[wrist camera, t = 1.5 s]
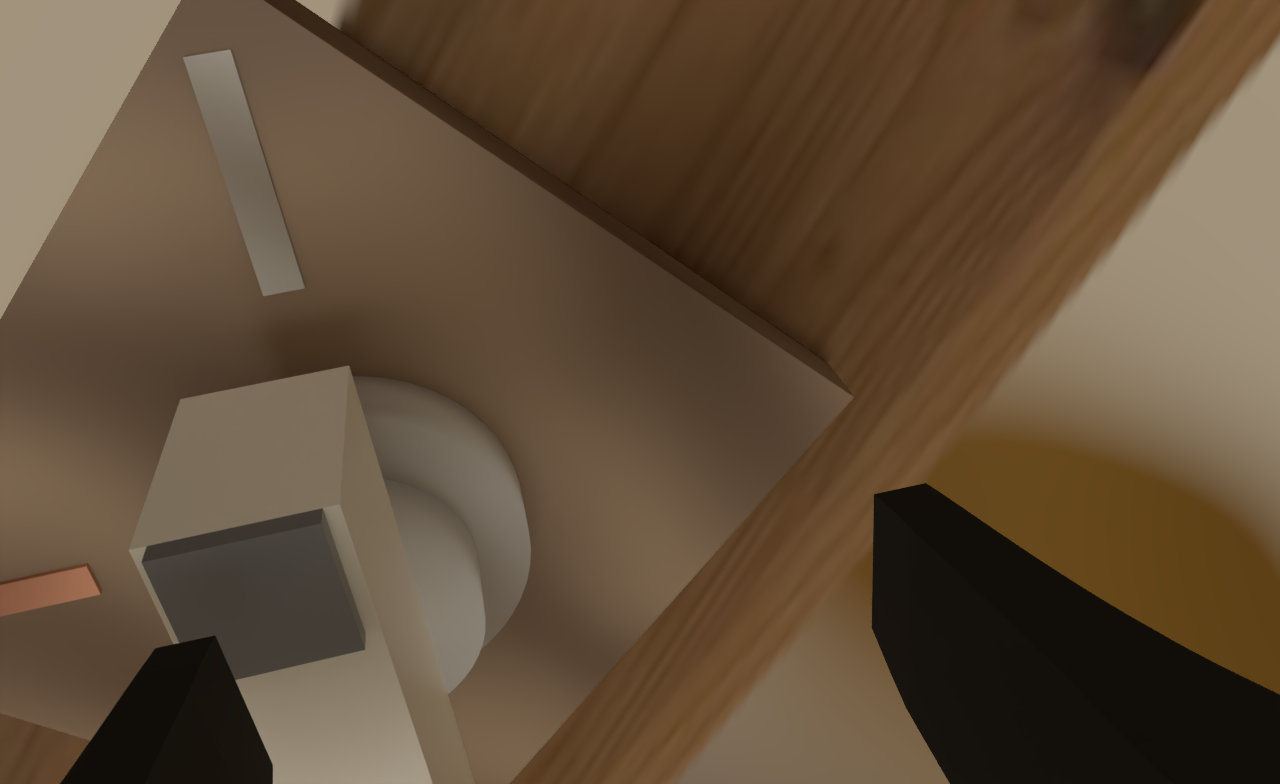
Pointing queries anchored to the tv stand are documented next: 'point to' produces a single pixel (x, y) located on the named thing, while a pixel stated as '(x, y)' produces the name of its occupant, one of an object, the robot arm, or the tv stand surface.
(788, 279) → the tv stand surface
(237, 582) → the lock handle
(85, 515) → the base
